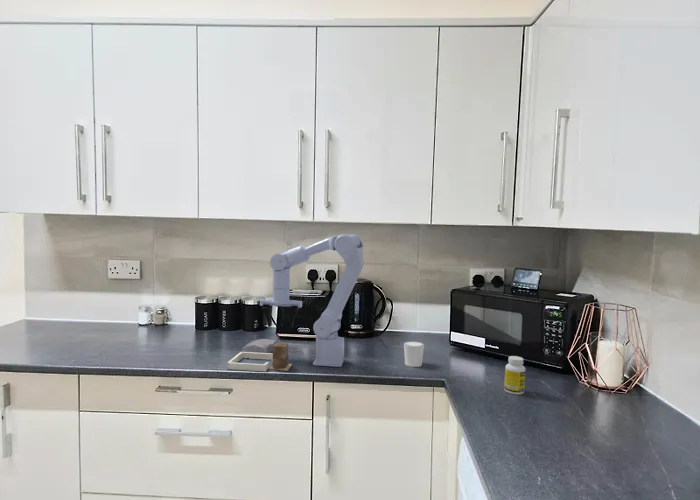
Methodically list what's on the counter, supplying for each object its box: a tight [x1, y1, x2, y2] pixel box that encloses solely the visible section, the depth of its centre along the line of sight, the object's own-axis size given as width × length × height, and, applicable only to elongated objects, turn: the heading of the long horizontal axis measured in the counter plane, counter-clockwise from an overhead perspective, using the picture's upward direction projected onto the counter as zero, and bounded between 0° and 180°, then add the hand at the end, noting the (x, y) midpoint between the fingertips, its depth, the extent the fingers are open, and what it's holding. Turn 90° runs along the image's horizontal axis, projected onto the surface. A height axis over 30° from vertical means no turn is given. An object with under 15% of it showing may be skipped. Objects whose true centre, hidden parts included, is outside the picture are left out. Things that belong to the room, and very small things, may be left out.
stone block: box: [242, 338, 277, 353], centre depth 162 cm, size 12×5×10 cm
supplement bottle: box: [503, 355, 526, 395], centre depth 128 cm, size 5×5×10 cm
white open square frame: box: [226, 351, 273, 373], centre depth 147 cm, size 13×13×2 cm
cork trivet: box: [269, 363, 293, 372], centre depth 145 cm, size 6×6×1 cm
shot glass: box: [403, 341, 425, 368], centre depth 151 cm, size 7×7×7 cm
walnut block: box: [271, 342, 289, 369], centre depth 145 cm, size 4×4×7 cm
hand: (280, 326), depth 156 cm, fingers open, 7 cm apart
